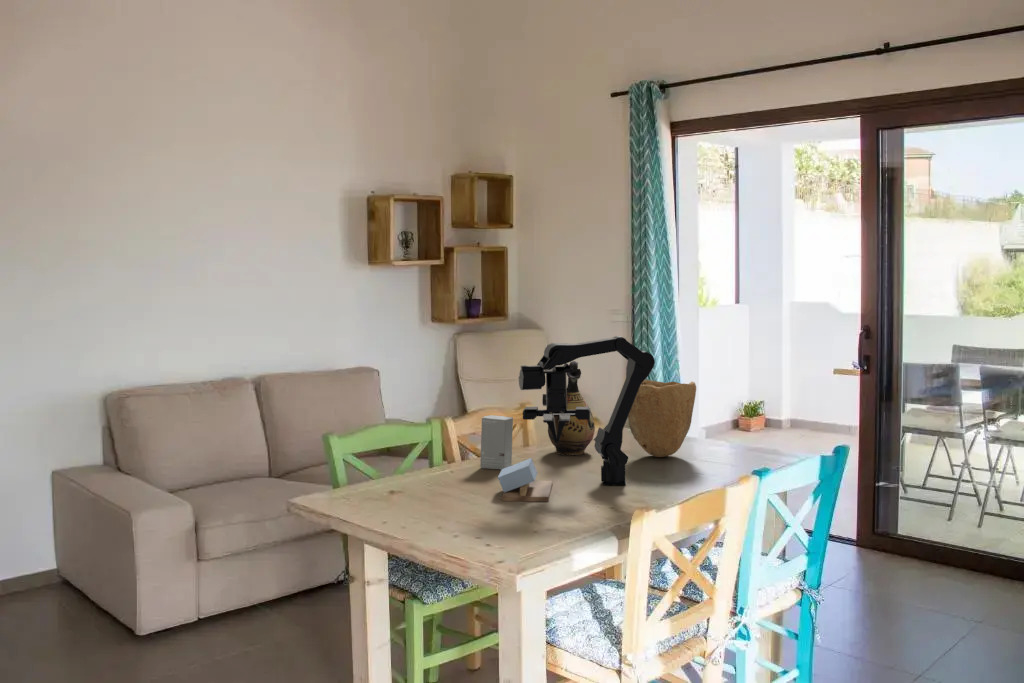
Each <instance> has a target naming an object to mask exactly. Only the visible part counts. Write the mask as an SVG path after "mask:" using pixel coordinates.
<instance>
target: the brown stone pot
mask: <svg viewBox="0 0 1024 683" xmlns="http://www.w3.org/2000/svg"><path fill="white" fill-rule="evenodd" d="M696 394H697V385H696V382H695V381H690V382H689V383H682V382H681V383H680V382H678V381H668V382H663V381H657V380H652V379H645V380H644V381H643V382H642V383H641V385H640V388H639V390H638V393H637V395H636V398H635V400H634V403H633V405H632V408H631V410H630V413H629V415H628V418H627V420H628V427H629V429H630V432H631V434H632V436H633V438H634V440H635V441H636V442H637V443H638V445H639V446H640V447H641V448H642V449H643V451H644V452H646V453H648V455H651V456H652V457H655V458H664V457H668V456H672V455H674V454H675V453H677V452H678V451H679V450H680V449H681V446H682V444H683V443H684V440H685V439H686V437H687V434H688V433H689V432H690V428H691V424H692V420H693V418H692V417H693V413H694V412H693V411H694V407H695V406H694V405H695V402H696Z"/></svg>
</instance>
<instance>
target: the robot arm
mask: <svg viewBox="0 0 1024 683" xmlns="http://www.w3.org/2000/svg"><path fill="white" fill-rule="evenodd" d="M614 352H618V353H619V355H620V356H622V357H623V358H625V359H626V360H627V364H626V367H625V370H626V371H625V372H626V373H625V380H624V383H623V385H622V388H621V390H620V393H619V395H618V398H617V401H616V403H615V406H614V408H613V410H612V413H611V416H610V418H609V420H608V422H607V425H606V426H604V427H603V428H601V427H598V429H597V433H596V436H595V437H594V438H593V441H594V448H595V452H597V453H598V454H599V455H600V456H601V459H602V460H603V461H602V465H601V466H600V479H601V481H600V482H602V485H603V486H626V485H627V480H626V465H627V463H628V461H629V456H628V455H627V454H626V453H625V452H624V451H623V450H622V444H623V438H624V437H623V433H624V428H625V425H626V423H627V420H628V415H629V413H630V410H631V408H632V405H633V403H634V400H635V398H636V395H637V393H638V390H639V388H640V385H641V383H642V382H643V381H644V380H647V378H648V376H650V373H651V372H652V370H653V369H654V367H655V363H656V360H655V358H654V355H653V354H652V353H651V352H648V351H644V350H641V349H639V348H638V347H637V346H635V344H632V343H630V342H629V340H627V339H626V338H625V337H622V336H619V335H615V336H613V337H609V338H602V339H596V340H591V341H585V342H584V341H583V342H578V343H566V342H565V343H564V342H563V343H562V342H560V343H559V342H552V343H549V344H547V346H546V347H545V348H544V351H543V355H542V357H541V359H539V361H538V363H537V364H536V365H520V371H519V375H518V385H519V390H521V391H529V390H530V391H531V390H542V388H543V387H545V389H546V390H545V393H543V394H542V402H541V403H542V406H543V407H545V408H546V409H539V406H525V407H524V408H523V409H522V420H529V421H530V420H532V421H533V420H535V419H536V418H537V417H542V418H543V420H542V422H543V423H546V424H547V427H548V426H549V428H550V430H551V432H552V435H553V438H554V441H555V443H556V444H558V443H559V440H560V436H561V433H562V430H563V428H564V426H565V423H569V422H570V416H576V418H577V419H578V420H589V419H590V410H591V408H590V407H589V406H588V407H576V410H567V386H568V383H567V373H568V372H574V370H573V369H572V368H570V366H569V364H570V363H571V362H572V361H576V360H577V359H580V358H584V357H591V356H596V355H602V354H609V353H614ZM568 363H569V364H568ZM554 416H560V419H559V424H558V433H556V426H555V417H554Z"/></svg>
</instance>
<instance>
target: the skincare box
mask: <svg viewBox="0 0 1024 683" xmlns="http://www.w3.org/2000/svg"><path fill="white" fill-rule="evenodd" d="M513 425H514V417H510V416H502V415H492V414H491V415H486V416H482V417H481V431H480V432H481V435H480V438H481V439H480V461H479V462H480V469H489V470H500V471H501V470H502V469H504V468H506V467H509V466H512V465H513V464H512V462H513V460H512V459H513V457H512V456H513V427H514V426H513Z"/></svg>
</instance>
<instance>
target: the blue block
mask: <svg viewBox="0 0 1024 683" xmlns="http://www.w3.org/2000/svg"><path fill="white" fill-rule="evenodd" d="M537 475H538V471H537V468H536V465H535V463H534V461H533V458H532V457H531V458H528V459H525V460H522V461H520V462H517V463H514V464H511V466H509V467H506V468H504V469H502V470H500V472H499V474H498V476H497V479H498V482H499V484H500V486H501V489H502V491H503V493H505V492H507V491H510V490H513V489H515V488H518V487H521V486H523V485H526V484H529V483H531V482H534V481H536V478H537Z"/></svg>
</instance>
